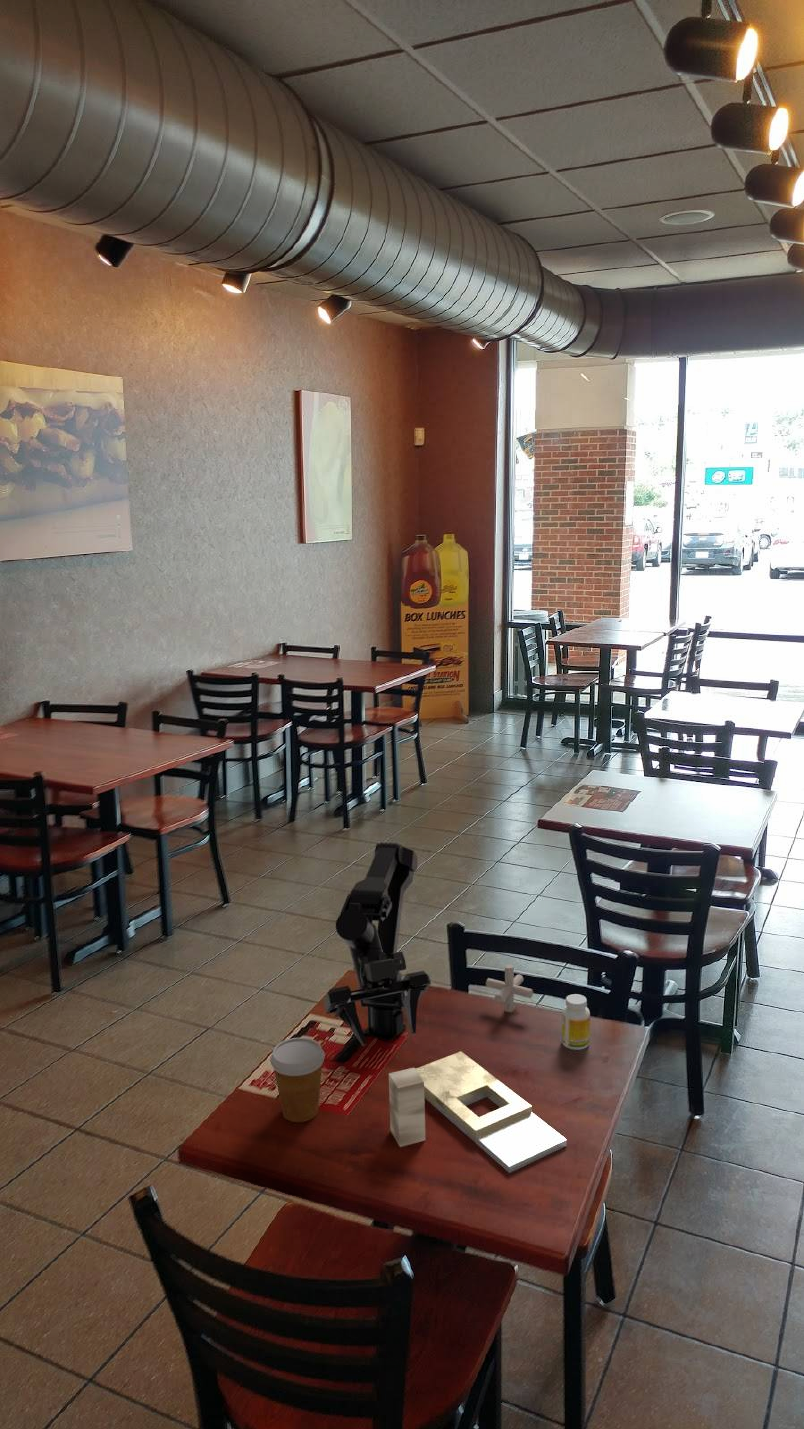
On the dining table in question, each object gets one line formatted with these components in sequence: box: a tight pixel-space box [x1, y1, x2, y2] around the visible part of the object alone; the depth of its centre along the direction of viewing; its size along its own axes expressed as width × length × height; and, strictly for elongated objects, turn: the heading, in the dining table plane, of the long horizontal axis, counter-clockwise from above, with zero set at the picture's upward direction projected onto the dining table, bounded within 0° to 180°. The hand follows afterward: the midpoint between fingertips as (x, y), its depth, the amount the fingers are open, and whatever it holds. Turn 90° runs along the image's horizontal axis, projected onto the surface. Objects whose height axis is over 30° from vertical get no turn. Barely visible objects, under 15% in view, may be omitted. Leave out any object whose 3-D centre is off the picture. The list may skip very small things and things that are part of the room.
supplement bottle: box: [561, 993, 591, 1051], centre depth 194 cm, size 5×5×10 cm
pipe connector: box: [485, 963, 534, 1013], centre depth 207 cm, size 10×10×10 cm
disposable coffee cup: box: [269, 1037, 326, 1123], centre depth 174 cm, size 10×10×12 cm
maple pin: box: [388, 1067, 426, 1148], centre depth 167 cm, size 5×5×11 cm
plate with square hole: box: [415, 1051, 568, 1174], centre depth 173 cm, size 30×12×2 cm, turn 32°
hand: (389, 1039), depth 173 cm, fingers open, 9 cm apart
